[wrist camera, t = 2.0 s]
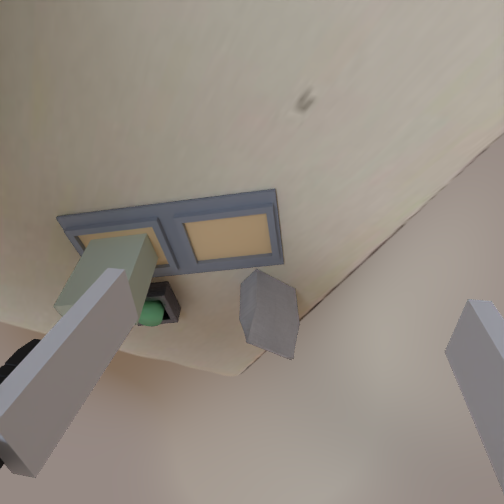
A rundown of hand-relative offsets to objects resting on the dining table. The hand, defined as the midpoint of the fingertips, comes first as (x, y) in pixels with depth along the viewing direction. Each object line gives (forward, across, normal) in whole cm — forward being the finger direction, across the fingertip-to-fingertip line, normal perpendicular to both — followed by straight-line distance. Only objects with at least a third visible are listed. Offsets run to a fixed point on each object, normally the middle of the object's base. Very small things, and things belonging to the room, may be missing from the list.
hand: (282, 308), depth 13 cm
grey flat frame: (+22, -14, -11) cm, 29 cm away
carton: (+21, -21, -12) cm, 32 cm away
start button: (+22, -19, -22) cm, 37 cm away
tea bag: (+26, -4, -20) cm, 33 cm away
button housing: (+24, -20, -22) cm, 38 cm away
